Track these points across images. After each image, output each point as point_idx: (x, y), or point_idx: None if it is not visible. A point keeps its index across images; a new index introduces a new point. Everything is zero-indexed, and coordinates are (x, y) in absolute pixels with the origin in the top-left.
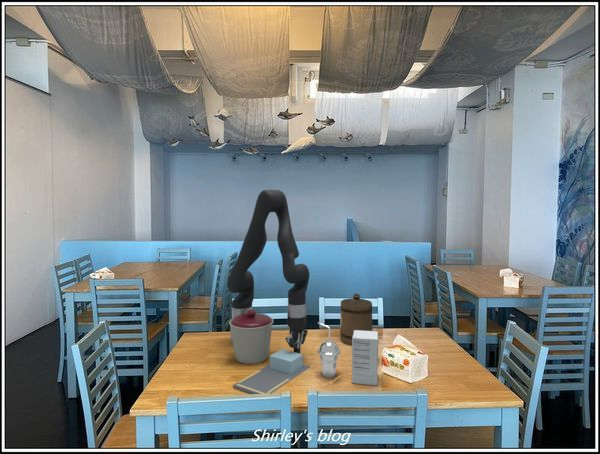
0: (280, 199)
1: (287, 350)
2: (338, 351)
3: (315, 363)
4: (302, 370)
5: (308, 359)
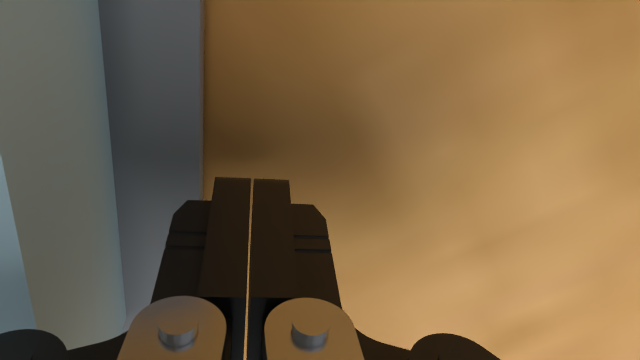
0: None
1: (9, 179)
2: None
3: (374, 322)
4: None
5: (459, 210)
